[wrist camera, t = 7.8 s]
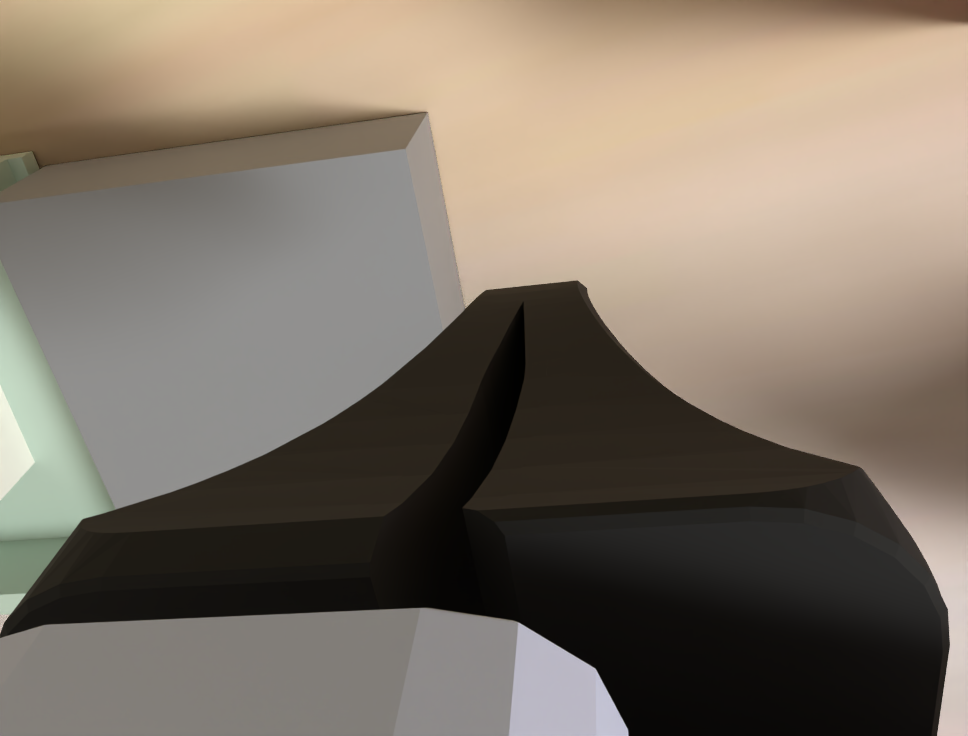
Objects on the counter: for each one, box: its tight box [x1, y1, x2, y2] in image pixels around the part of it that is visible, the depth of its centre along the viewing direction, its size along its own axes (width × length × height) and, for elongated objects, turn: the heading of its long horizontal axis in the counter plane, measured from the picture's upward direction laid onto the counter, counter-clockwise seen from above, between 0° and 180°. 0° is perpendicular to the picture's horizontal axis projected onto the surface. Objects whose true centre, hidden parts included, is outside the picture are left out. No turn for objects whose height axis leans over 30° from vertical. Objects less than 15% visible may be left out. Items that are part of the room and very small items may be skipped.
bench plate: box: [0, 112, 465, 509], centre depth 23 cm, size 12×10×3 cm
